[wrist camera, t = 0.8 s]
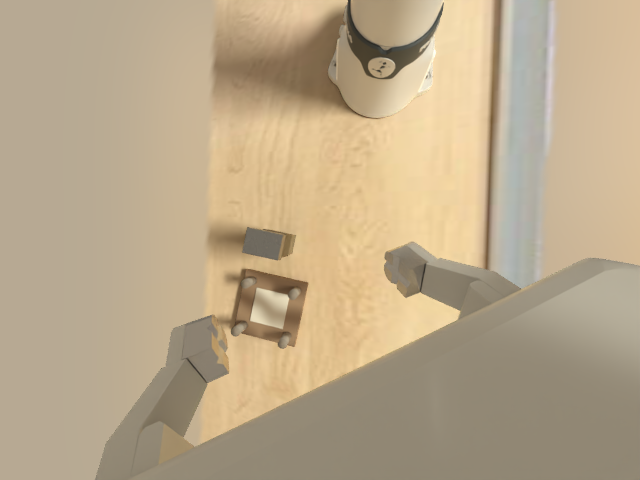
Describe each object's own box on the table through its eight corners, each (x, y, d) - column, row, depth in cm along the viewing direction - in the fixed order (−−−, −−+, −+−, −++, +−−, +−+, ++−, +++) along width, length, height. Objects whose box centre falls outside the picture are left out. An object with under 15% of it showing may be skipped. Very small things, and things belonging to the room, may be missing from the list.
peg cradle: (248, 269, 46) (237, 272, 41) (308, 282, 45) (304, 287, 40) (236, 328, 46) (224, 338, 42) (295, 344, 45) (289, 356, 40)
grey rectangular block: (273, 230, 46) (247, 226, 33) (299, 235, 45) (283, 234, 32) (269, 249, 46) (242, 253, 33) (295, 255, 45) (277, 261, 33)
